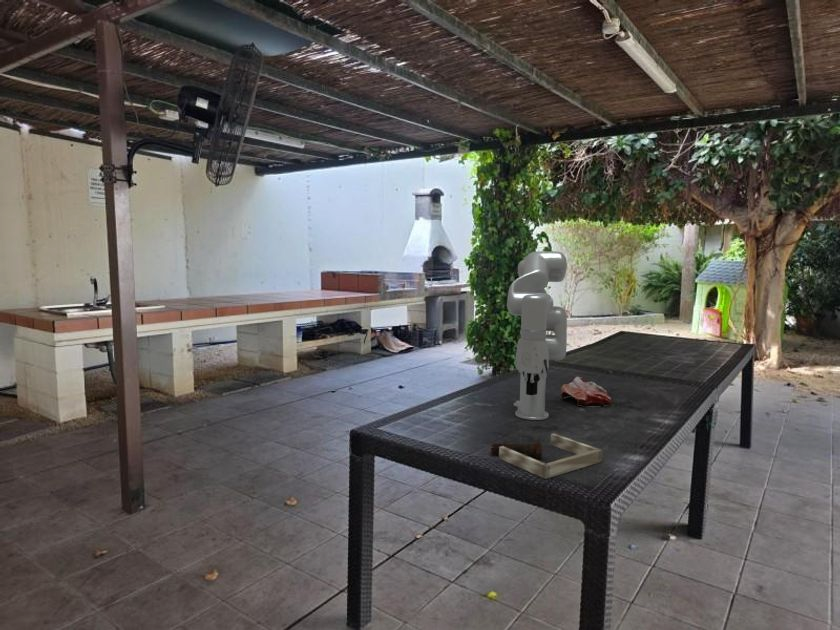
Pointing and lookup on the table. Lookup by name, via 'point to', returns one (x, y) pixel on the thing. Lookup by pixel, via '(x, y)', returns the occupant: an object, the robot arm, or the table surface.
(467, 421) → the table surface
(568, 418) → the table surface
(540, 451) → the bolt
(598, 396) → the meat
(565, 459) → the bay
